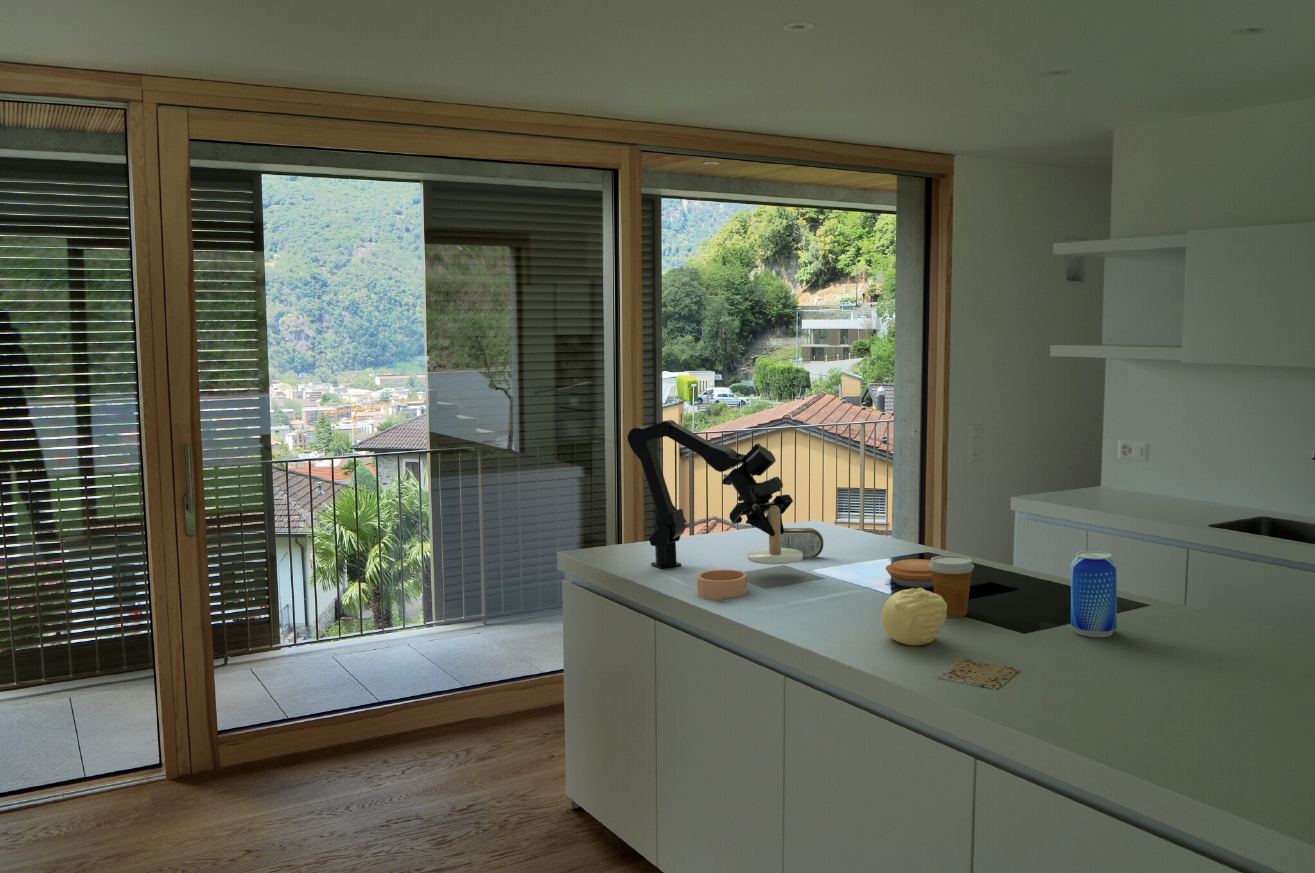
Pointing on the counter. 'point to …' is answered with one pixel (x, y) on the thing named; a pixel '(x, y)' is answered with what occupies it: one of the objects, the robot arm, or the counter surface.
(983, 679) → the cookie
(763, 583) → the mat
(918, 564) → the pie
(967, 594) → the disposable coffee cup
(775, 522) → the lid
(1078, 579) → the beer can
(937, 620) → the pale yellow lumpy ball
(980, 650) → the counter surface
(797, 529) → the tin
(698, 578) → the bowl
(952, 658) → the counter surface
